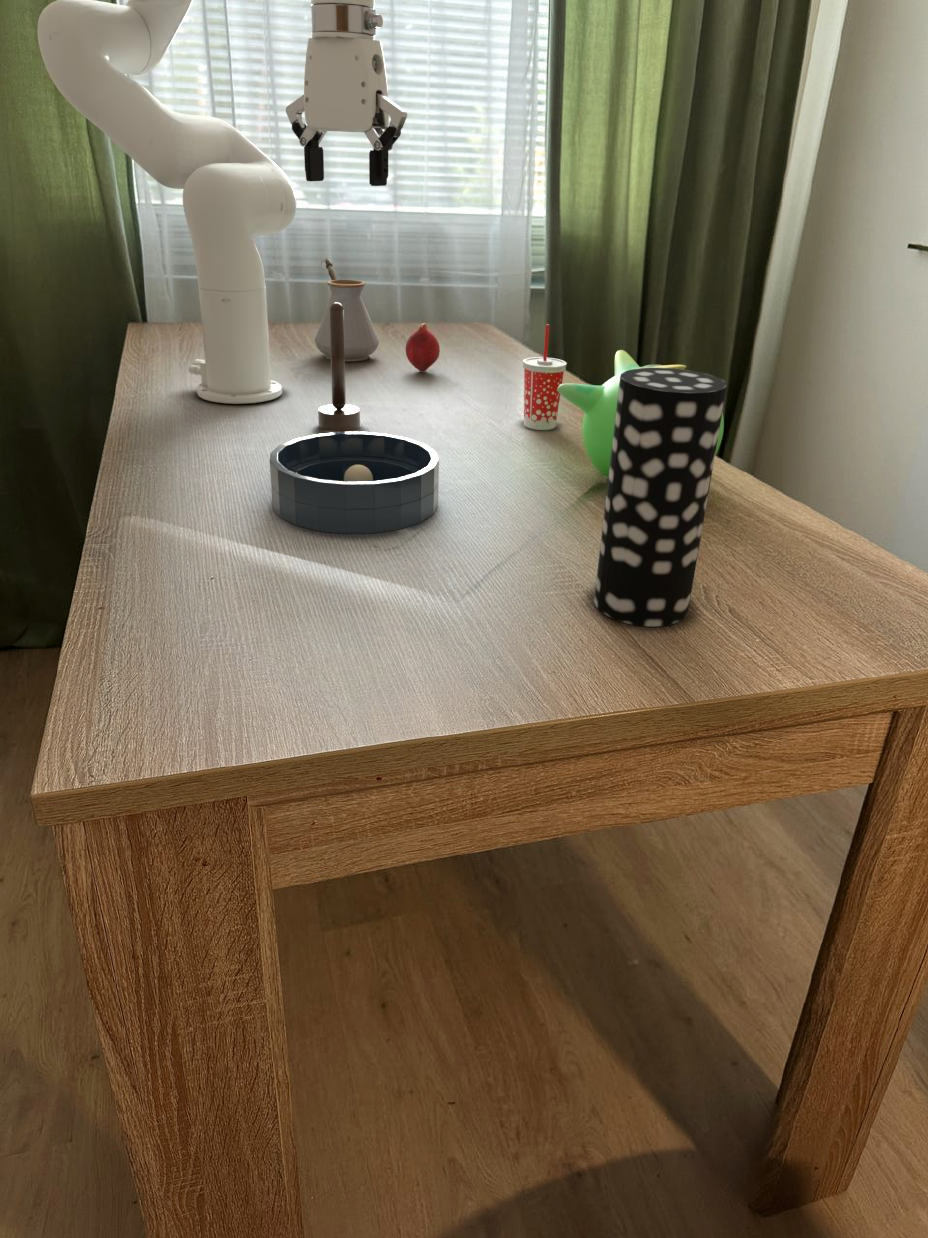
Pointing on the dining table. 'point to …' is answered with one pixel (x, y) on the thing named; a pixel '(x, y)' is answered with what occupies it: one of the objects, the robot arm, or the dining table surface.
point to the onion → (422, 348)
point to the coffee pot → (348, 319)
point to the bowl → (327, 503)
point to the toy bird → (606, 410)
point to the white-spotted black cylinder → (657, 493)
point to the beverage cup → (542, 389)
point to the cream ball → (358, 474)
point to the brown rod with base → (338, 381)
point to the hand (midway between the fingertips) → (346, 183)
